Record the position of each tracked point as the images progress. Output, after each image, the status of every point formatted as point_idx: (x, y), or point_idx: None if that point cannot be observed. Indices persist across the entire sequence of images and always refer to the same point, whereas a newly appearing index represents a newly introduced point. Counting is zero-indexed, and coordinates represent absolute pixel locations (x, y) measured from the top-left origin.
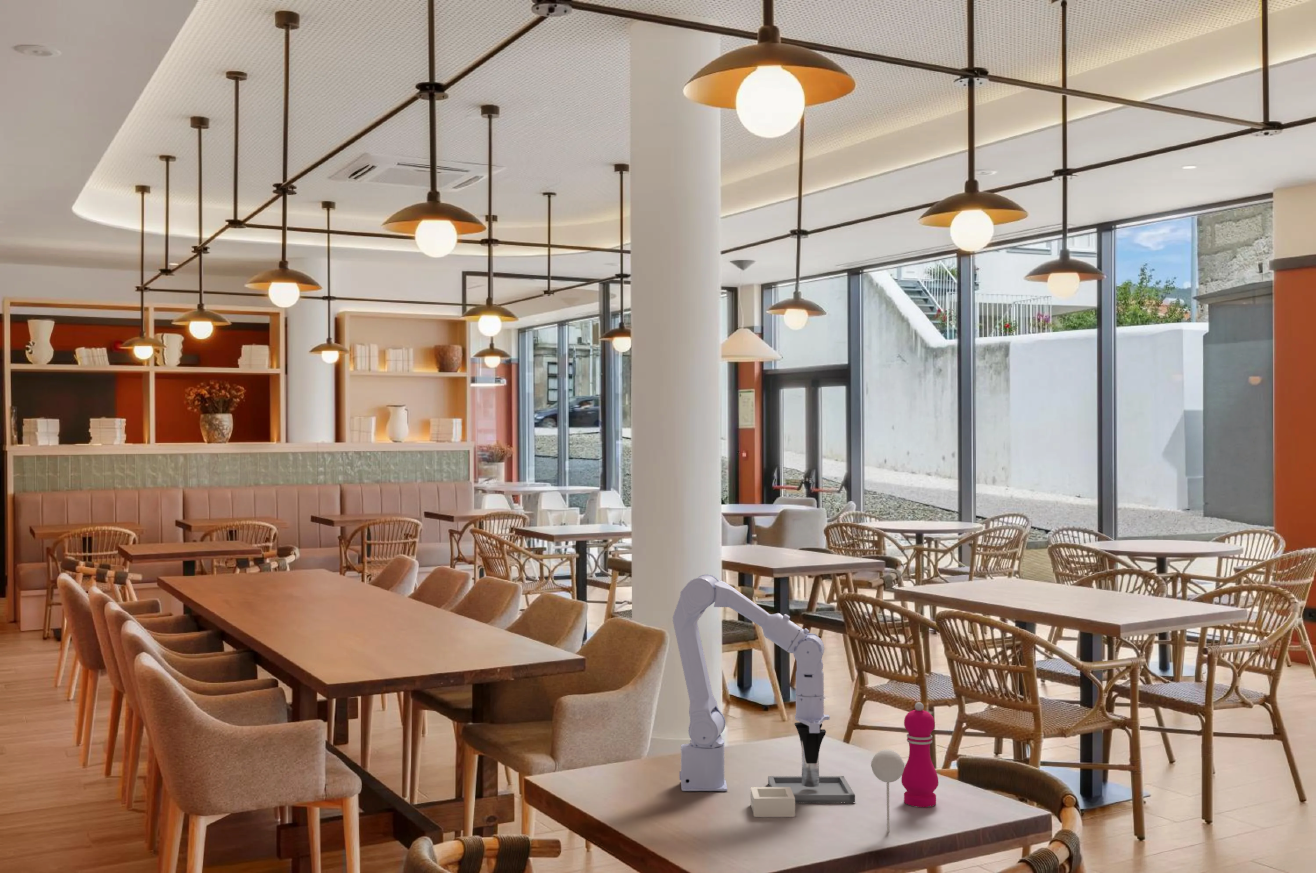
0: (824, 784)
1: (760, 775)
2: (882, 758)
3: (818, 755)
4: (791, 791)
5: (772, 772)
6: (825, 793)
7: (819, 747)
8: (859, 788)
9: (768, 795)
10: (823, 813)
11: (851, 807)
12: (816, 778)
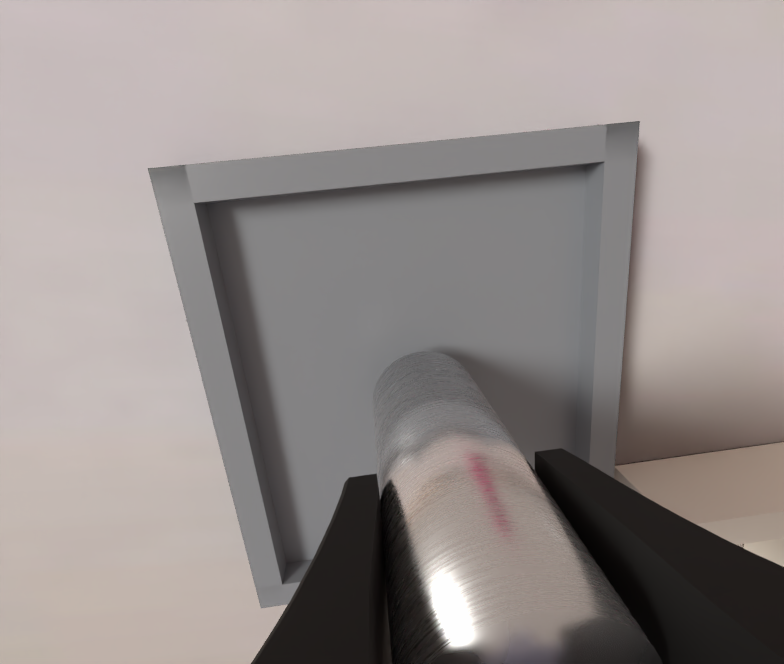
0: (285, 306)
1: (116, 614)
2: None
3: (616, 480)
4: (760, 517)
5: (34, 570)
6: (480, 305)
7: (734, 547)
8: (273, 63)
9: None
10: (761, 319)
11: (685, 161)
12: (475, 386)
